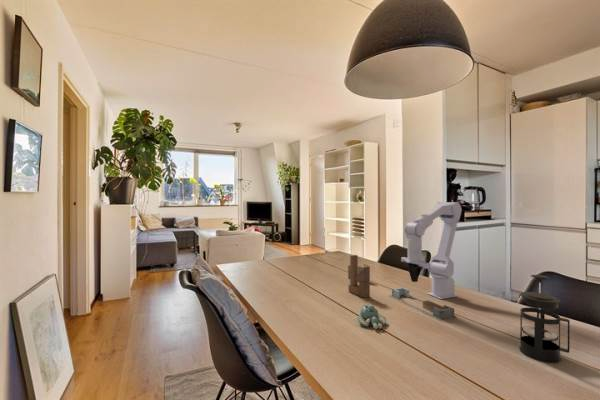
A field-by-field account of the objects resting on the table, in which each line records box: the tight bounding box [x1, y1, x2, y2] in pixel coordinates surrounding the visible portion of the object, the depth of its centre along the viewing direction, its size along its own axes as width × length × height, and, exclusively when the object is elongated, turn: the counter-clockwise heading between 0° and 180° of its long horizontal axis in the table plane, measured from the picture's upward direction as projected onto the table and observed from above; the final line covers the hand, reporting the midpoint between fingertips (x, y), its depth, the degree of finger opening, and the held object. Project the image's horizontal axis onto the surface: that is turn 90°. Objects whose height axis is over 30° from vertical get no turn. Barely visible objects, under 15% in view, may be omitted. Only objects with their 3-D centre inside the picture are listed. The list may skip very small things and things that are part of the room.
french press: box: [518, 274, 571, 364], centre depth 84 cm, size 12×9×23 cm
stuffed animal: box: [357, 304, 387, 330], centre depth 105 cm, size 11×7×12 cm
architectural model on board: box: [347, 263, 369, 282], centre depth 162 cm, size 11×3×10 cm, turn 48°
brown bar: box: [422, 299, 447, 313], centre depth 117 cm, size 3×10×3 cm, turn 19°
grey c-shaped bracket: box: [432, 304, 455, 321], centre depth 112 cm, size 6×4×3 cm, turn 111°
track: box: [388, 294, 457, 321], centre depth 123 cm, size 9×29×1 cm, turn 21°
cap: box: [391, 286, 410, 299], centre depth 134 cm, size 6×4×3 cm, turn 111°
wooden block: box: [348, 254, 371, 299], centre depth 137 cm, size 4×11×18 cm, turn 33°
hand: (414, 281), depth 126 cm, fingers closed
